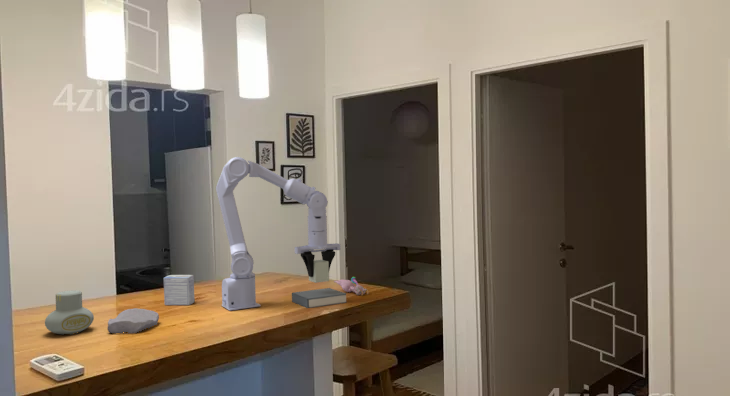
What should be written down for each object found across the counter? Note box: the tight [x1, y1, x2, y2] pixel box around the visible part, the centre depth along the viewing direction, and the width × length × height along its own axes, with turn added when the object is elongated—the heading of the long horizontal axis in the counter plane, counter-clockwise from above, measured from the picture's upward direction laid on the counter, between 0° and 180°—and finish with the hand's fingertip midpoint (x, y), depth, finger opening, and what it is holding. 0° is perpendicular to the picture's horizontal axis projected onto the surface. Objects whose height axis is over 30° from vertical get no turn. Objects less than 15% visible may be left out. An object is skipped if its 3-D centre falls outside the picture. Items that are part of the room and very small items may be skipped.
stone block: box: [107, 307, 160, 334], centre depth 146 cm, size 12×5×10 cm
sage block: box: [308, 259, 330, 283], centre depth 172 cm, size 4×4×6 cm
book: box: [291, 287, 347, 309], centre depth 173 cm, size 13×11×3 cm
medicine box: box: [163, 274, 195, 306], centre depth 174 cm, size 8×4×9 cm, turn 84°
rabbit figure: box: [333, 276, 370, 296], centre depth 187 cm, size 6×6×15 cm
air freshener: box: [44, 289, 95, 335], centre depth 143 cm, size 11×8×10 cm
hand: (318, 275), depth 173 cm, fingers closed on sage block, 4 cm apart
